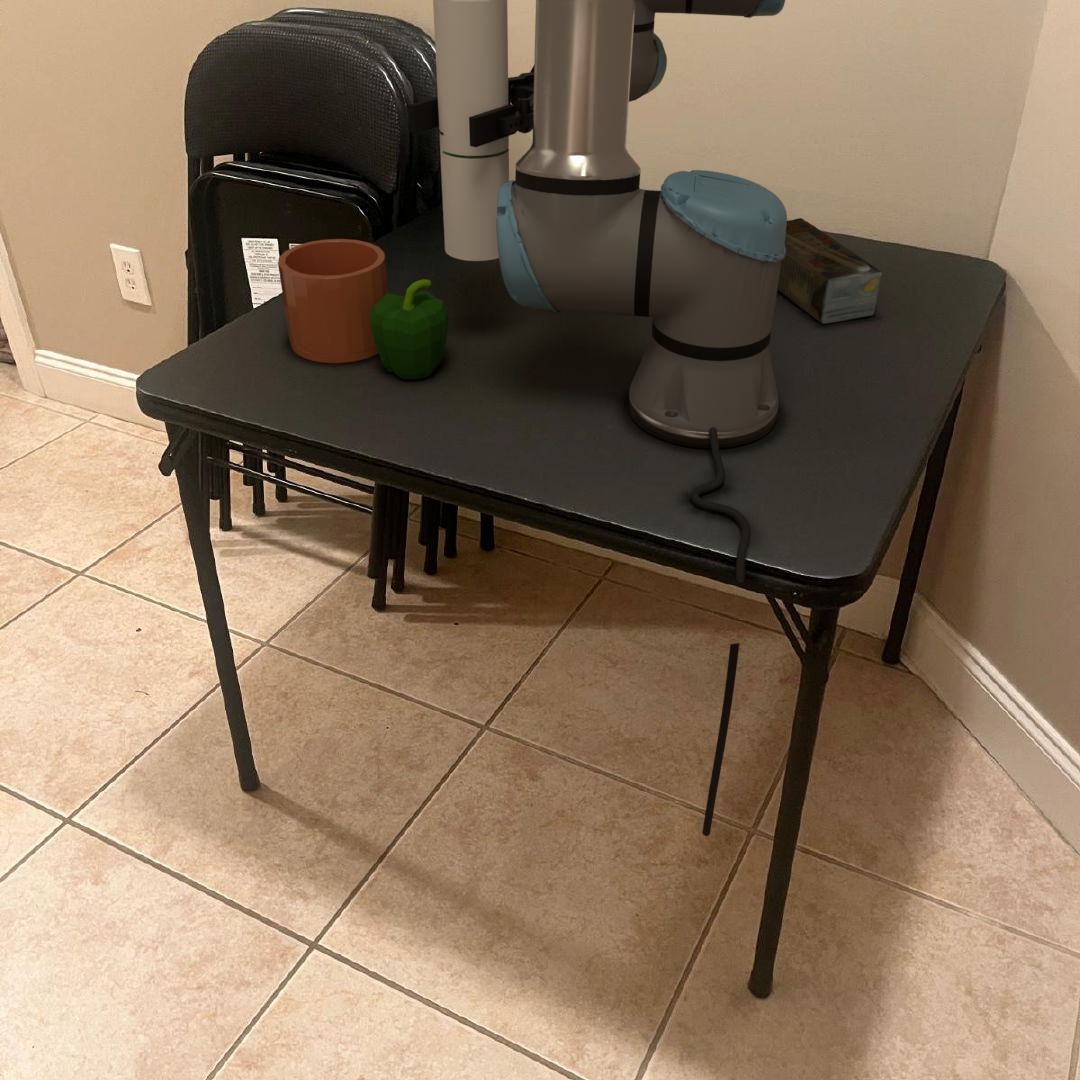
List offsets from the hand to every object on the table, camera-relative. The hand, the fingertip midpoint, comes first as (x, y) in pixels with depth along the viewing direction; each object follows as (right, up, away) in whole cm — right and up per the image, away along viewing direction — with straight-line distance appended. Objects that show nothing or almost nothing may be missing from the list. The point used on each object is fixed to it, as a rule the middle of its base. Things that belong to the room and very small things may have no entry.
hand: (441, 125), depth 101 cm
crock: (-13, -18, +18) cm, 29 cm away
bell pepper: (-4, -22, +12) cm, 26 cm away
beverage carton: (+44, -9, +30) cm, 54 cm away
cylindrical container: (+3, -9, +12) cm, 15 cm away
